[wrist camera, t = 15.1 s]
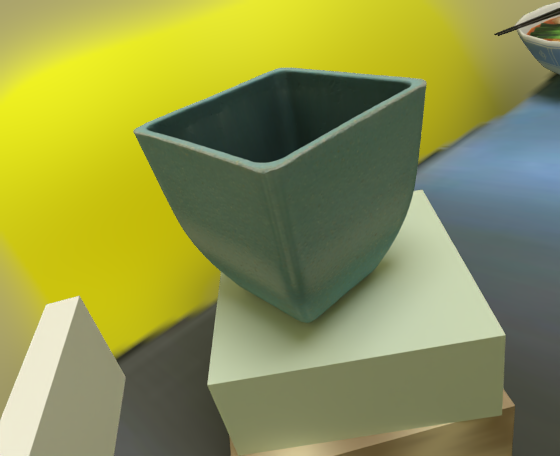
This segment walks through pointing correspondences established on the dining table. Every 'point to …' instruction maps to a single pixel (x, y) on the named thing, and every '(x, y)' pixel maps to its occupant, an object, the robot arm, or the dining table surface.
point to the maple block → (421, 440)
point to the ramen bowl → (541, 35)
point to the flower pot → (293, 179)
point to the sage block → (362, 351)
